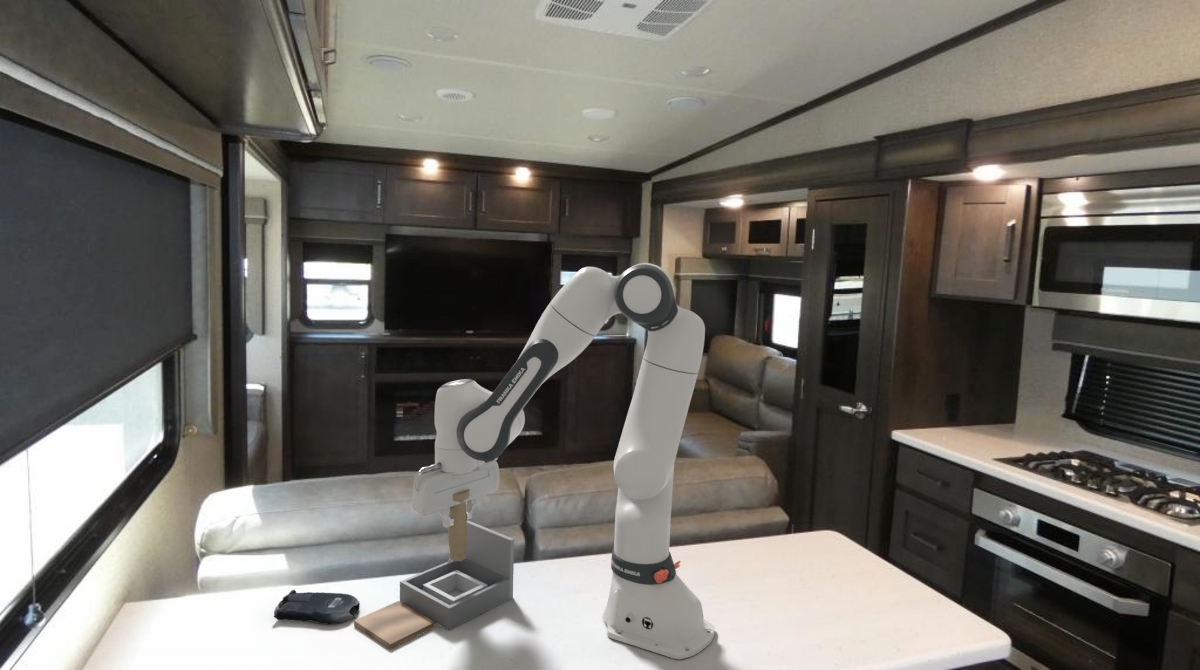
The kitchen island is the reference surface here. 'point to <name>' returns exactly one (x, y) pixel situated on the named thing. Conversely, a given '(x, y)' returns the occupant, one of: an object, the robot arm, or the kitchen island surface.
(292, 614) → the electronic device
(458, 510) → the handle
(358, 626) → the walnut pad
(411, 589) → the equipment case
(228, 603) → the kitchen island surface
